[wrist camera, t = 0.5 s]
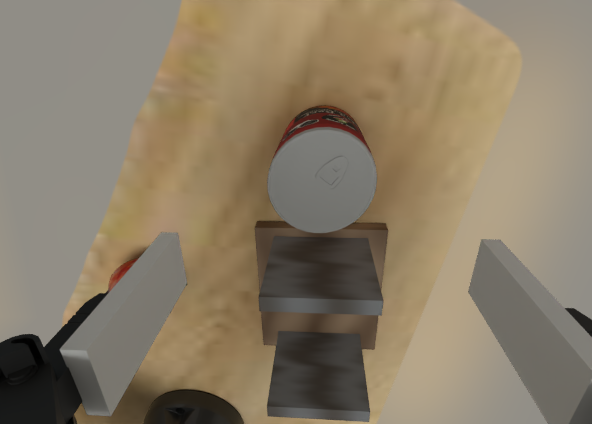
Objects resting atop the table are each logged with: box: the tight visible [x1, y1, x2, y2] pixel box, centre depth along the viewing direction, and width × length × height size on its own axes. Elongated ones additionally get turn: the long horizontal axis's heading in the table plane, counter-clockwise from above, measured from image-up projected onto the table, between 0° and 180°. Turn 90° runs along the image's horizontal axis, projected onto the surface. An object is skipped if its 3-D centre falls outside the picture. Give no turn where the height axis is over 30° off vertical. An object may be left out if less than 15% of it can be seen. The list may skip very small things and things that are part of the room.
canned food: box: [267, 106, 377, 233], centre depth 29 cm, size 8×8×11 cm
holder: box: [255, 221, 388, 422], centre depth 36 cm, size 14×17×12 cm
